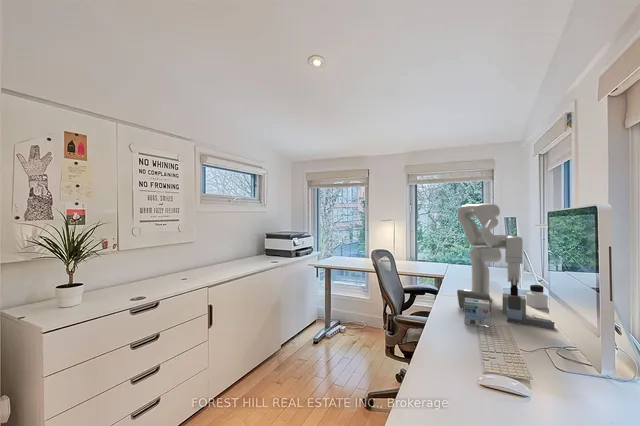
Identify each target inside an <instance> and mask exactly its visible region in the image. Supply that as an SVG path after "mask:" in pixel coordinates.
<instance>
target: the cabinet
mask: <svg viewBox="0 0 640 426" xmlns="http://www.w3.org/2000/svg"><path fill="white" fill-rule="evenodd" d="M510 294H511V293H502V315H506V316H507V306H508V295H510ZM518 297H521V308H522V316H527V304H526V295H519V294H518Z"/></svg>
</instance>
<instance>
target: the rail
mask: <svg viewBox="0 0 640 426" xmlns="http://www.w3.org/2000/svg"><path fill="white" fill-rule="evenodd" d="M551 320H552V319H547V318H542V317H541V318H540V317H533V316H527V315H526V316H522V320H519V319H512V318H507V317H506V322H507V323H512V324H517V325H524V326H531V327H535V328H542V329H548V330H554V331H555V321H554V322H552V321H551Z"/></svg>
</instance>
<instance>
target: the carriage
mask: <svg viewBox="0 0 640 426" xmlns="http://www.w3.org/2000/svg"><path fill="white" fill-rule="evenodd" d="M507 318H512V319H519V320H522V308H521V297H518V296H510V295H508V306H507V315H506V319H507Z"/></svg>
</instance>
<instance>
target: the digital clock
mask: <svg viewBox="0 0 640 426" xmlns="http://www.w3.org/2000/svg"><path fill="white" fill-rule="evenodd" d="M465 290H466V289H457V290H456V292H457V294H456V296H457V301H458V307H459V308H461V309H462V311H463V312H464V305H465V298H470V299H478V300H487V301H489V303H490V314H491V313H492V307H491V306H492V305H491V301H490V297H491V296H490V294H489V295H488V294H484V293H478V292H472V291H470V290H468V291H465Z"/></svg>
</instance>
